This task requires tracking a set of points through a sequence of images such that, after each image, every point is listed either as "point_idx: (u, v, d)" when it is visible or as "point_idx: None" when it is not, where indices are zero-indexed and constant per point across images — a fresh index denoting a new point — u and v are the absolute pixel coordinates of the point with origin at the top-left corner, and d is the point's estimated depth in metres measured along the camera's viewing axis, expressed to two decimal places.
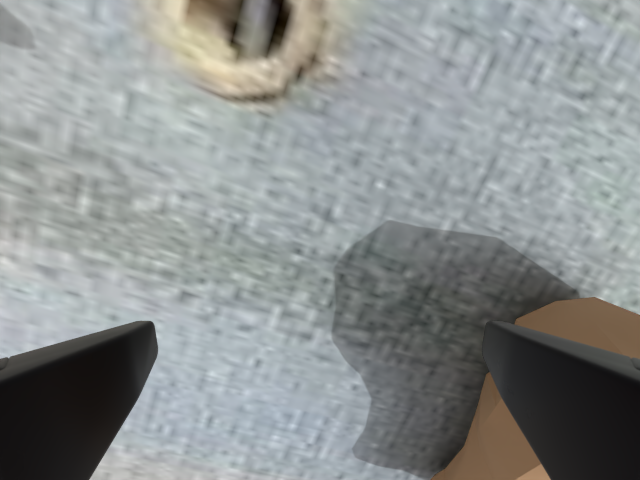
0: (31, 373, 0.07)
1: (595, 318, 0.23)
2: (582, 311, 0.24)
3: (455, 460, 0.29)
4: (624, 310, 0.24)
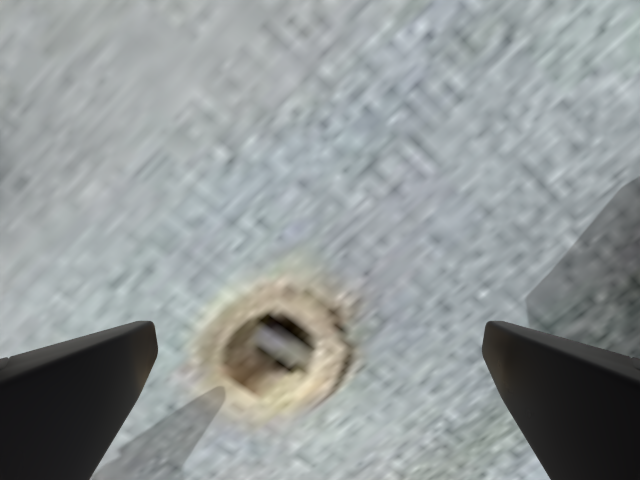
0: (31, 373, 0.07)
1: None
2: None
3: None
4: None
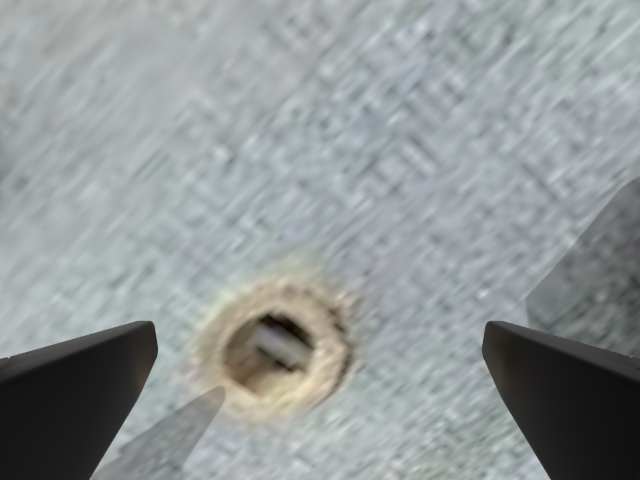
0: (31, 373, 0.07)
1: None
2: None
3: None
4: None
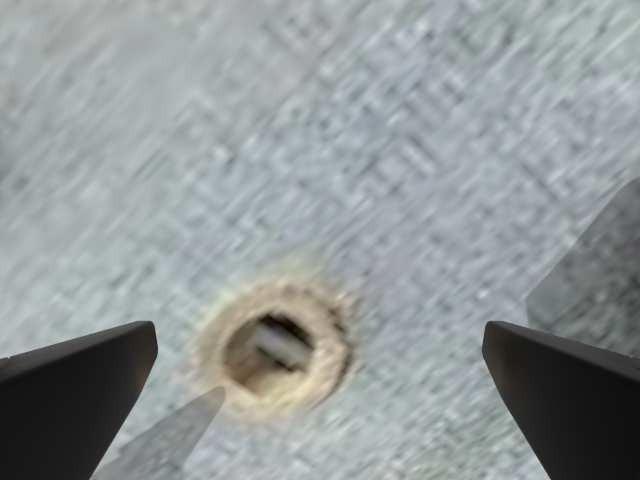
0: (31, 373, 0.07)
1: None
2: None
3: None
4: None
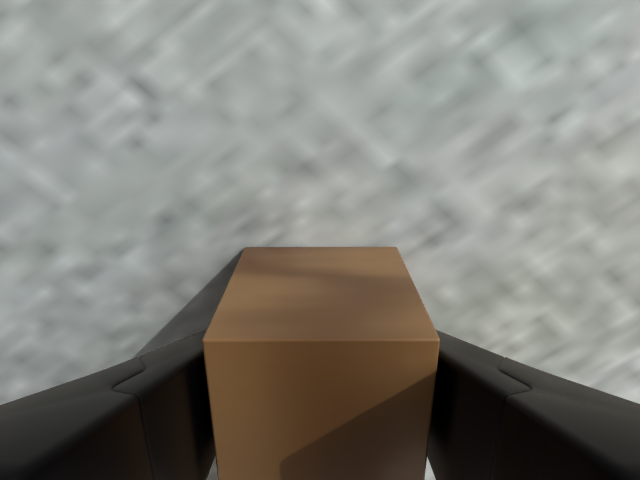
0: (175, 373, 0.07)
1: None
2: None
3: None
4: None
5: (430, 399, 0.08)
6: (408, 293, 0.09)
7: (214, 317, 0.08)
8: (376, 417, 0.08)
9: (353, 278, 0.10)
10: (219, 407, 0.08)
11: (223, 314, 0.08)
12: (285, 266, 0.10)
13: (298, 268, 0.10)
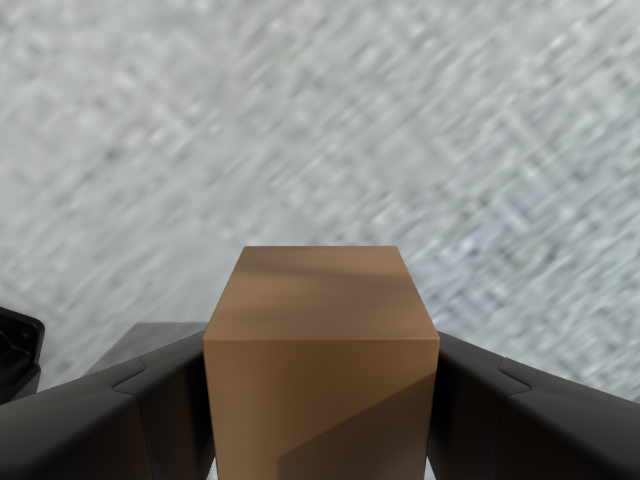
0: (175, 373, 0.07)
1: None
2: None
3: None
4: None
5: (430, 398, 0.08)
6: (408, 292, 0.09)
7: (213, 316, 0.08)
8: (376, 415, 0.08)
9: (353, 276, 0.10)
10: (218, 406, 0.08)
11: (222, 313, 0.08)
12: (285, 265, 0.10)
13: (297, 267, 0.10)
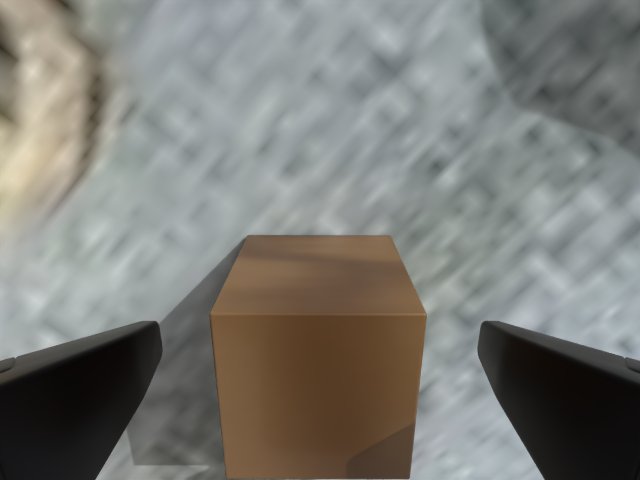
0: (38, 373, 0.07)
1: None
2: None
3: None
4: None
5: (418, 370, 0.09)
6: (400, 275, 0.10)
7: (220, 294, 0.09)
8: (368, 386, 0.09)
9: (349, 262, 0.10)
10: (224, 377, 0.09)
11: (228, 292, 0.09)
12: (286, 252, 0.11)
13: (298, 254, 0.11)
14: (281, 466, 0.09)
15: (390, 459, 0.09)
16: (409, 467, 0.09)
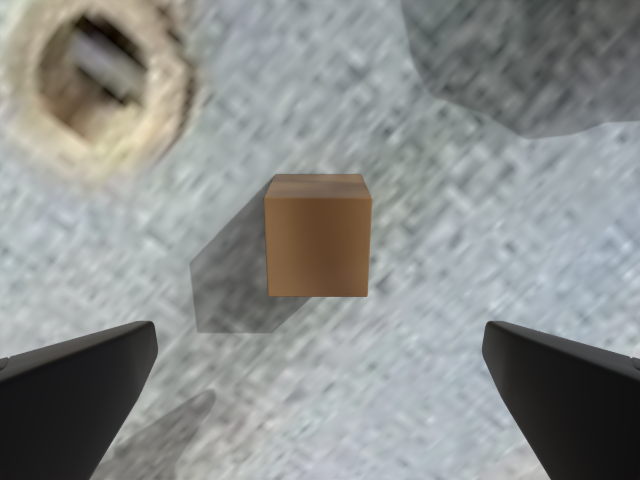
0: (31, 373, 0.07)
1: None
2: None
3: None
4: None
5: (369, 229, 0.17)
6: (362, 187, 0.18)
7: (267, 192, 0.17)
8: (344, 239, 0.17)
9: (335, 183, 0.19)
10: (270, 233, 0.17)
11: (271, 192, 0.17)
12: (299, 180, 0.19)
13: (306, 180, 0.19)
14: (298, 288, 0.18)
15: (356, 283, 0.17)
16: (366, 288, 0.18)
